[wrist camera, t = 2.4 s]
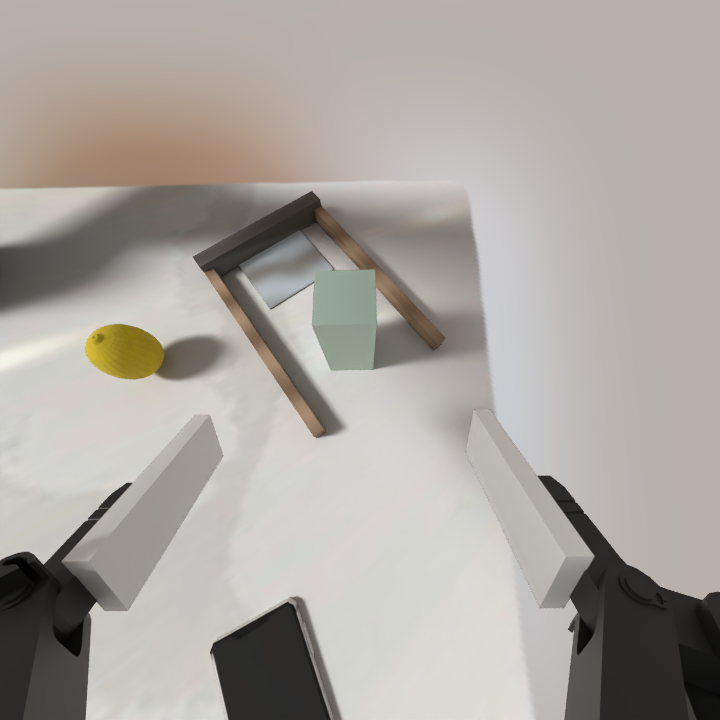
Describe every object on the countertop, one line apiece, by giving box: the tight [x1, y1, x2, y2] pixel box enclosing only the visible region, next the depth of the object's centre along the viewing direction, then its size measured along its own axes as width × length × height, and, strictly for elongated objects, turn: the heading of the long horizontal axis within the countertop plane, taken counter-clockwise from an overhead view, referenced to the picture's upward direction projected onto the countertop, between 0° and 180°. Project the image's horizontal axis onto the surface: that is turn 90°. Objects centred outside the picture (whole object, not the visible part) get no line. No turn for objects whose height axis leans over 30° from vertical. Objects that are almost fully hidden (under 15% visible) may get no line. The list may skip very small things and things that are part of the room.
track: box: [193, 191, 445, 438], centre depth 33 cm, size 28×18×3 cm, turn 37°
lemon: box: [85, 324, 164, 379], centre depth 29 cm, size 6×6×8 cm
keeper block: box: [312, 269, 377, 370], centre depth 27 cm, size 5×5×12 cm
